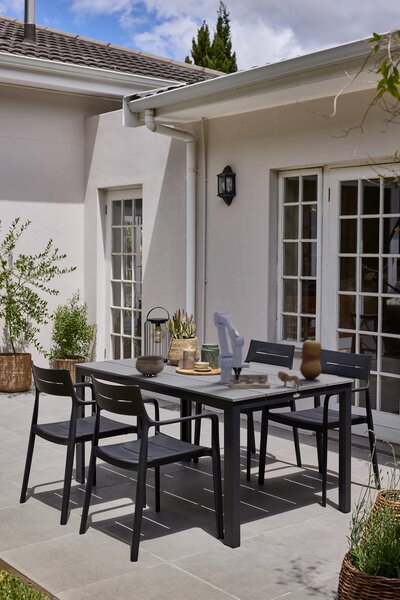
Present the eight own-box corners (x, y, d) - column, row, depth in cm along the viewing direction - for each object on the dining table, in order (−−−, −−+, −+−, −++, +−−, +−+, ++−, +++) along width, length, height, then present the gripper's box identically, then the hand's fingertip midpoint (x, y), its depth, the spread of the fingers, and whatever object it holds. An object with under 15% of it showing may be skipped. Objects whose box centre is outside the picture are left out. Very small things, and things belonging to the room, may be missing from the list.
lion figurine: (277, 386, 474) (277, 371, 474) (278, 385, 480) (278, 370, 479) (302, 387, 472) (302, 372, 472) (302, 386, 477) (302, 371, 477)
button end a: (234, 382, 477) (234, 379, 477) (239, 382, 477) (239, 379, 477) (234, 383, 474) (234, 380, 474) (240, 383, 474) (240, 380, 474)
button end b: (258, 382, 478) (258, 379, 478) (264, 382, 478) (264, 379, 478) (259, 383, 474) (259, 380, 474) (265, 383, 474) (265, 380, 474)
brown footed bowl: (149, 372, 533) (148, 354, 533) (172, 374, 524) (172, 355, 523) (126, 377, 512) (126, 358, 511) (151, 379, 502) (150, 360, 502)
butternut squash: (320, 381, 494) (321, 341, 493) (299, 380, 497) (299, 341, 495) (321, 378, 508) (321, 339, 507) (300, 377, 510) (300, 338, 509)
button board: (229, 384, 483) (229, 374, 482) (267, 384, 483) (267, 374, 483) (231, 388, 469) (231, 378, 468) (270, 388, 469) (270, 378, 469)
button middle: (246, 382, 478) (246, 379, 477) (252, 382, 478) (252, 379, 478) (247, 383, 474) (247, 380, 474) (253, 383, 474) (253, 380, 474)
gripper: (225, 358, 470) (225, 381, 471) (250, 358, 471) (250, 380, 472) (224, 356, 478) (224, 379, 478) (248, 356, 478) (248, 379, 479)
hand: (237, 379), depth 475 cm, fingers closed
